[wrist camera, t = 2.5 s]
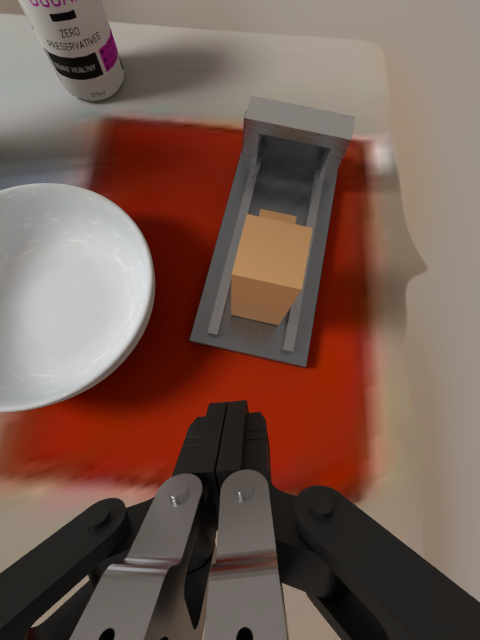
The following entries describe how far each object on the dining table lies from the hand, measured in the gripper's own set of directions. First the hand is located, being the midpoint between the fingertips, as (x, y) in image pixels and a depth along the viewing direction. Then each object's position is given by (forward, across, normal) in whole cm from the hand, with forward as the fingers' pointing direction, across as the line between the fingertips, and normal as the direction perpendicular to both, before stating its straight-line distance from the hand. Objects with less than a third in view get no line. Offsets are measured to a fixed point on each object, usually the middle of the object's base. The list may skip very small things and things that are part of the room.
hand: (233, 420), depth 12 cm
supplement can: (+37, -18, +29) cm, 50 cm away
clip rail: (+25, +3, +5) cm, 26 cm away
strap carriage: (+22, +2, +3) cm, 22 cm away
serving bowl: (+19, -19, +2) cm, 27 cm away
